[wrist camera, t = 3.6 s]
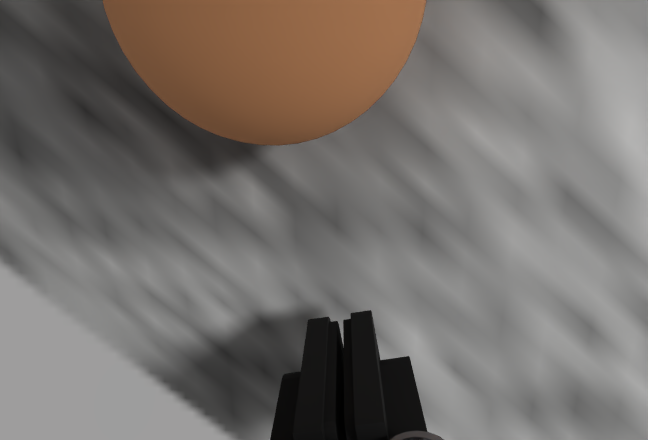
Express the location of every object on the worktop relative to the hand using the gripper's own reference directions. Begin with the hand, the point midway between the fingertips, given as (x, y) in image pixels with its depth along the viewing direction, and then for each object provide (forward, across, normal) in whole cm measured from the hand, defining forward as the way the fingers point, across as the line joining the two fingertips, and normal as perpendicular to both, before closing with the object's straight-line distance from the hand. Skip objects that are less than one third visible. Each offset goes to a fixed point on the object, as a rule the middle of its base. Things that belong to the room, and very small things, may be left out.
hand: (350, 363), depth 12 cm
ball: (-1, 0, -9) cm, 9 cm away
